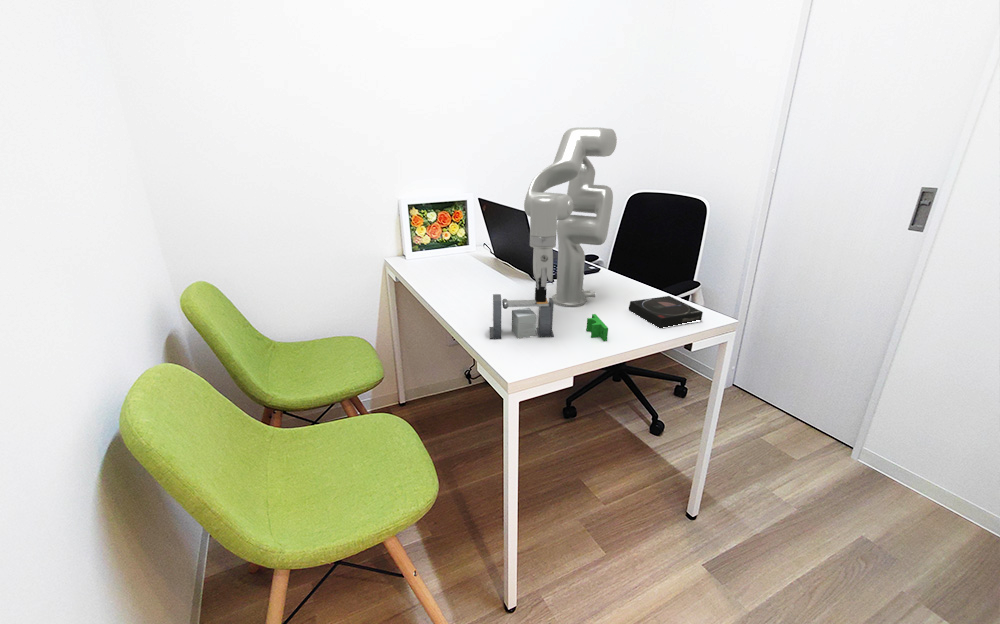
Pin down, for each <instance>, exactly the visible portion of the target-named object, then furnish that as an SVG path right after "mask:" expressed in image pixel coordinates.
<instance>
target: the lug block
mask: <svg viewBox="0 0 1000 624" xmlns="http://www.w3.org/2000/svg"><path fill="white" fill-rule="evenodd" d="M548 304H549V306H539V307H538V323H537V324H538V325H537V326H538V327H536V334H537V338H555V334H554V332H553V331H554V330H553V320H554V319H553V316H554V302H553V300H552V297H548Z"/></svg>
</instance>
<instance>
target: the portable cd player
mask: <svg viewBox="0 0 1000 624" xmlns="http://www.w3.org/2000/svg"><path fill="white" fill-rule="evenodd" d="M628 311H629V312H631V313H632V312H633V313H632V314H634V313H635V314H634V315H636V316H637V315H638V317H639V316H640V317H639V318H641V319H642V318H643V320H644V319H645V321H646V320H647V321H646V322H648V323H649V322H650V323H649V324H651V323H652V324H651V325H653V324H654V325H655V327H656V326H657V327H656V328H658V327H659V328H662V329H664V328H663V327H668V326H673V325H678V324H682V323H687V322H692V321H696V320H701V321H702V319H703V318H702V317H703V313H704V312H703V311H701V310H700V309H697V308H695V307H693V306H691V305H689V304H687V303H686V302H683V301H682V300H678V299H677V298H674V297H673V296H671V295H665V296H660V297H658V296H657V297H651V298H645V299H637V300H631V301H629V305H628ZM654 325H653V326H654ZM659 328H658V329H659ZM668 328H669V327H668Z"/></svg>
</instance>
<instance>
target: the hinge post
mask: <svg viewBox="0 0 1000 624" xmlns="http://www.w3.org/2000/svg"><path fill="white" fill-rule="evenodd" d="M492 298H493V299H492V316H493V319H492V321H493V323H492V324H493V325H492V326H489V340H502V295H501V294H499V293H495V294H492Z"/></svg>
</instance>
